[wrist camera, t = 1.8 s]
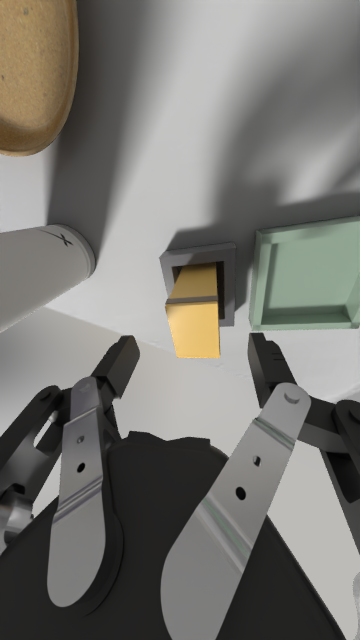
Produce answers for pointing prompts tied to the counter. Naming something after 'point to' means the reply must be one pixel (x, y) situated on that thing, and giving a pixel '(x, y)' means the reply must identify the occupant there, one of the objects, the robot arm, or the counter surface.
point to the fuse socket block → (205, 255)
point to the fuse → (195, 312)
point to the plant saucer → (36, 72)
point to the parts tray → (307, 276)
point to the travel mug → (39, 268)
